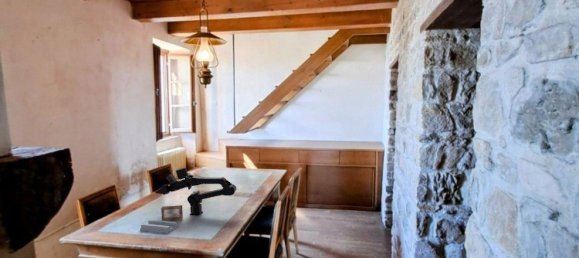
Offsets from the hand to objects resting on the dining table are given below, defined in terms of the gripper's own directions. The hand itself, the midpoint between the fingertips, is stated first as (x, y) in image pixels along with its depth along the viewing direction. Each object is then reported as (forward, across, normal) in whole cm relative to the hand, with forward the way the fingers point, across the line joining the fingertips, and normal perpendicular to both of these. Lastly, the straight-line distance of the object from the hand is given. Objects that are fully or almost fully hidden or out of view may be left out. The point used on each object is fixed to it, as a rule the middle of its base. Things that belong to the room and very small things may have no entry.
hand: (158, 191), depth 210 cm
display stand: (-7, +23, +21) cm, 32 cm away
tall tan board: (-9, +10, +20) cm, 24 cm away
